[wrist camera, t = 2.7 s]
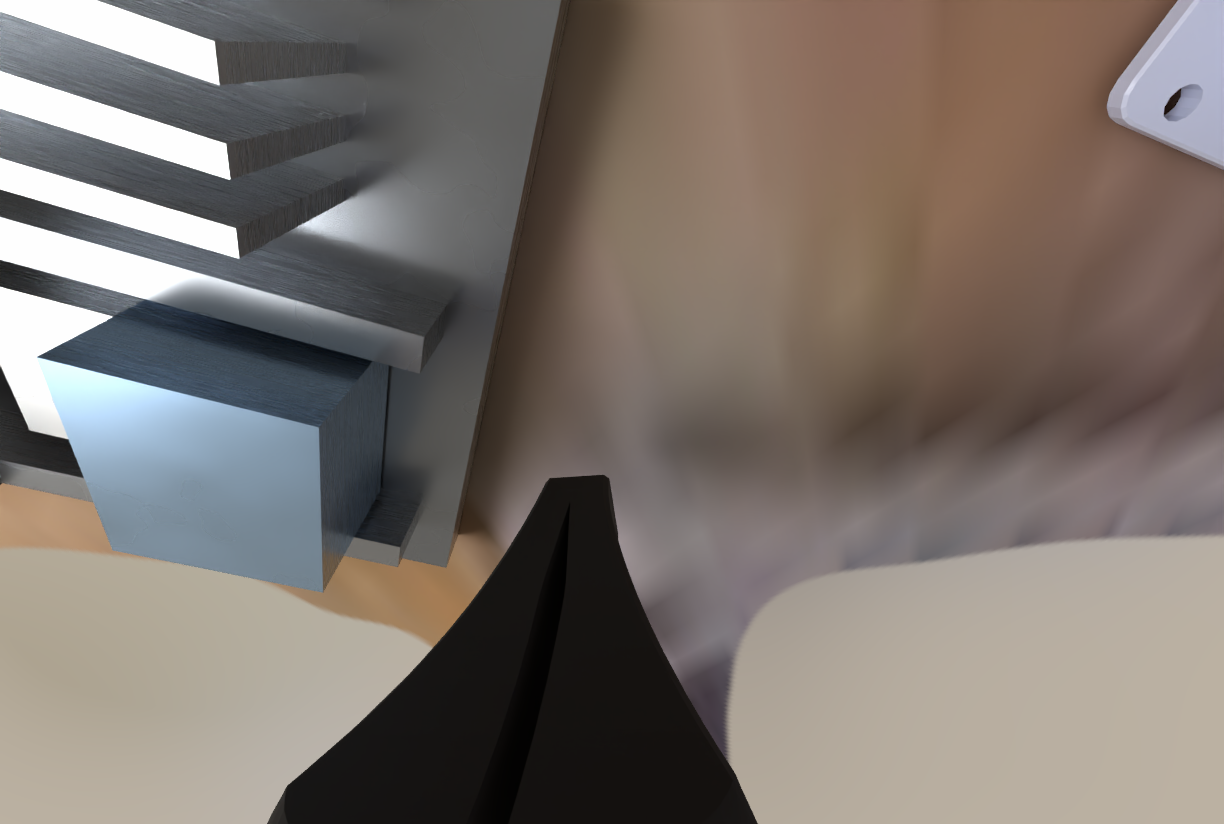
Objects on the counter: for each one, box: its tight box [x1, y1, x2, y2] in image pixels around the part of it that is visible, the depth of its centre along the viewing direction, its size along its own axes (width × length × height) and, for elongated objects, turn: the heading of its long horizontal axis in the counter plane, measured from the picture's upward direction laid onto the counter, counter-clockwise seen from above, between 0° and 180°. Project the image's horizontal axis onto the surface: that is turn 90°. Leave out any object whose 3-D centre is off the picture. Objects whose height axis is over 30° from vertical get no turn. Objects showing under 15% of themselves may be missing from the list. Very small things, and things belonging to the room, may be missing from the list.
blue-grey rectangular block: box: [0, 261, 389, 592], centre depth 10 cm, size 7×5×3 cm, turn 72°
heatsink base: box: [0, 0, 570, 567], centre depth 9 cm, size 14×14×4 cm
